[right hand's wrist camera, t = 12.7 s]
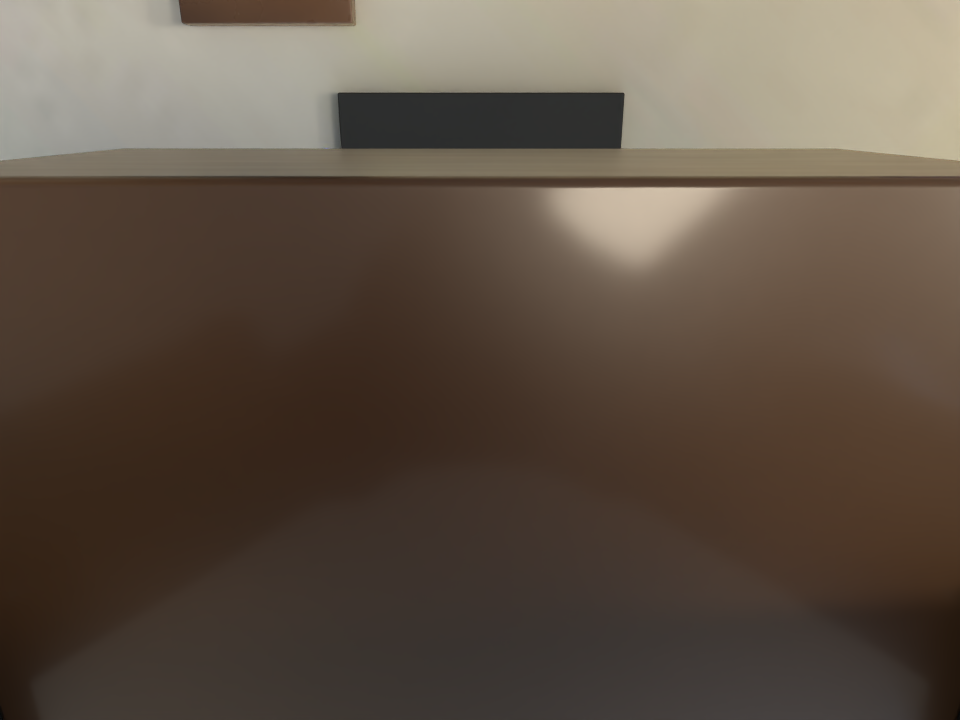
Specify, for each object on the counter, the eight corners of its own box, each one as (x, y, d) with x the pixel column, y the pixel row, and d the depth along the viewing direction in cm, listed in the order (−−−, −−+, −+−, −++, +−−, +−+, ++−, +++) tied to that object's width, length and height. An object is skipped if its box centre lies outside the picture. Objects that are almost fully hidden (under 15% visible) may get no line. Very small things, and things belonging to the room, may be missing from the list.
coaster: (622, 93, 34) (624, 92, 33) (604, 358, 38) (606, 362, 38) (340, 93, 34) (337, 92, 33) (357, 358, 38) (355, 362, 38)
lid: (838, 148, 10) (1136, 176, 6) (743, 700, 14) (874, 992, 9) (121, 148, 10) (-176, 176, 6) (216, 699, 14) (85, 990, 9)
